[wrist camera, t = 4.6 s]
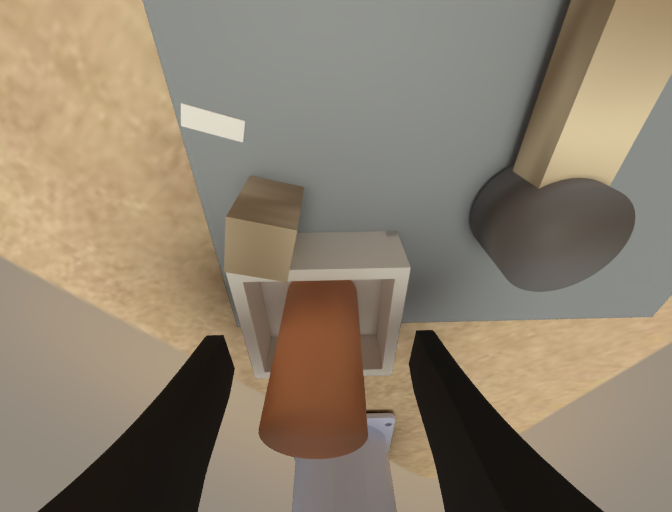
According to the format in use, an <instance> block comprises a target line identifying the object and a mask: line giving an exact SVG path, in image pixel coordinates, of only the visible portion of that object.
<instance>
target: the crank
mask: <svg viewBox="0 0 672 512" xmlns="http://www.w3.org/2000/svg"><path fill="white" fill-rule="evenodd" d="M671 74H672V0H571V2H570V5H569V8H568V11H567V13H566V16H565V19H564V22H563V25H562V28H561V31H560V34H559V37H558V40H557V43H556V46H555V48H554V51H553V54H552V57H551V60H550V63H549V66H548V69H547V72H546V75H545V78H544V81H543V83H542V86H541V89H540V92H539V95H538V98H537V101H536V104H535V107H534V110H533V113H532V116H531V118H530V121H529V124H528V127H527V130H526V133H525V136H524V139H523V142H522V145H521V148H520V151H519V154H518V156H517V159H516V162H515V165H513V166H511V167H509V168H508V169H506V170H504V171H503V172H501V173H500V174H498V175H497V176H496V177H495V178H493V179H492V180H491V181H490V182H489V183H488V184H487V185H486V186H485V187H484V189H483V190H482V191H481V192H480V194H479V196H478V197H477V199H476V201H475V203H474V205H473V208H472V211H471V216H470V226H471V230H472V233H473V235H474V237H475V239H476V240H477V241H478V243H479V244H480V245H481V246H482V248H483V249H484V250H485V252H486V253H487V254H488V256H489V257H490V258H491V259H492V261H493V262H494V263H495V265H496V266H497V267H498V269H499V270H500V271H501V272H502V274H503V275H504V276H505V278H506V279H507V280H508V281H509V282H510V283H511V284H512V285H514V286H515V287H518V288H520V289H523V290H526V291H533V292H546V291H554V290H558V289H562V288H566V287H569V286H572V285H574V284H577V283H579V282H581V281H583V280H585V279H587V278H589V277H591V276H592V275H594V274H596V273H597V272H598V271H600V270H601V269H603V268H604V267H605V266H606V265H608V264H609V263H610V262H611V261H612V260H613V259H614V258H615V257H616V256H617V255H618V254H619V253H620V252H621V250H622V249H623V248H624V246H625V245H626V244H627V242H628V240H629V238H630V236H631V234H632V232H633V229H634V225H635V218H636V216H635V209H634V206H633V204H632V202H631V201H630V199H629V198H628V197H627V196H626V195H624V194H623V193H621V192H620V191H618V190H616V189H614V188H612V187H610V185H611V183H612V181H613V179H614V177H615V176H616V174H617V172H618V170H619V168H620V167H621V165H622V163H623V161H624V159H625V157H626V156H627V154H628V152H629V150H630V148H631V147H632V145H633V143H634V141H635V139H636V138H637V136H638V134H639V132H640V130H641V128H642V127H643V125H644V123H645V121H646V119H647V118H648V116H649V114H650V112H651V110H652V109H653V107H654V105H655V103H656V101H657V99H658V98H659V96H660V94H661V92H662V90H663V89H664V87H665V85H666V83H667V81H668V80H669V78H670V76H671Z"/></svg>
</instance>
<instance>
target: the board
mask: <svg viewBox="0 0 672 512" xmlns="http://www.w3.org/2000/svg"><path fill="white" fill-rule="evenodd" d="M570 2H571V0H143V4H144V7H145V11H146V14H147V17H148V21H149V24H150V28H151V31H152V35H153V38H154V42H155V45H156V48H157V52H158V55H159V59H160V62H161V66H162V69H163V73H164V76H165V79H166V83H167V86H168V90H169V93H170V97H171V100H172V104H173V107H174V110H175V114H176V117H177V121H178V124H179V128H180V131H181V135H182V138H183V141H184V145H185V148H186V152H187V155H188V159H189V162H190V166H191V169H192V172H193V176H194V179H195V183H196V186H197V190H198V193H199V197H200V200H201V203H202V207H203V210H204V214H205V217H206V221H207V224H208V228H209V231H210V234H211V238H212V241H213V245H214V248H215V252H216V255H217V259H218V262H219V265H220V269H221V272H222V276H223V279H224V283H225V286H226V290H227V293H228V296H229V300H230V303H231V307H232V310H233V314H234V317H235V321H236V324H237V327H241V325H240V322H239V318H238V314H237V311H236V307H235V304H234V300H233V297H232V293H231V289H230V286H229V282H228V279H227V275H226V272H224V255H225V226H226V216H227V214H228V212H229V210H230V209H231V207H232V205H233V204H234V202H235V200H236V198H237V197H238V195H239V193H240V192H241V190H242V188H243V187H244V185H245V183H246V181H247V180H248V178H249V176H255V177H260V178H264V179H269V180H273V181H278V182H283V183H287V184H292V185H296V186H301V187H304V191H303V198H302V204H301V210H300V217H299V223H298V229H297V233H311V232H366V231H397V233H398V235H399V238H400V241H401V243H402V246H403V248H404V251H405V254H406V256H407V259H408V262H409V264H410V267H411V269H410V274H409V280H408V286H407V292H406V297H405V303H404V309H403V314H402V320H401V323H416V322H458V321H500V320H543V319H585V318H627V317H653V316H654V314H655V313H656V312H657V311H658V310H659V309H660V308H661V306H662V305H663V304H664V303H665V302H666V301H667V300H668V298H669V297H670V296H671V295H672V74H671V76H670V78H669V80H668V81H667V83H666V85H665V87H664V89H663V90H662V92H661V94H660V96H659V98H658V99H657V101H656V103H655V105H654V107H653V109H652V110H651V112H650V114H649V116H648V118H647V119H646V121H645V123H644V125H643V127H642V128H641V130H640V132H639V134H638V136H637V138H636V139H635V141H634V143H633V145H632V147H631V148H630V150H629V152H628V154H627V156H626V157H625V159H624V161H623V163H622V165H621V167H620V168H619V170H618V172H617V174H616V176H615V177H614V179H613V181H612V183H611V185H610V187H612V188H614V189H616V190H618V191H620V192H621V193H623V194H624V195H626V196H627V197H628V198H629V199H630V201H631V202H632V204H633V206H634V209H635V216H636V218H635V225H634V229H633V232H632V234H631V236H630V238H629V240H628V242H627V244H626V245H625V246H624V248H623V249H622V250H621V252H620V253H619V254H618V255H617V256H616V257H615V258H614V259H613V260H612V261H611V262H610V263H609V264H608V265H606V266H605V267H604V268H603V269H601V270H600V271H598V272H597V273H596V274H594V275H592V276H591V277H589V278H587V279H585V280H583V281H581V282H579V283H577V284H574V285H572V286H569V287H566V288H562V289H558V290H554V291H546V292H533V291H526V290H523V289H520V288H518V287H515V286H514V285H512V284H511V283H510V282H509V281H508V280H507V279H506V278H505V276H504V275H503V274H502V272H501V271H500V270H499V269H498V267H497V266H496V265H495V263H494V262H493V261H492V259H491V258H490V257H489V256H488V254H487V253H486V252H485V250H484V249H483V248H482V246H481V245H480V244H479V243H478V241H477V240H476V239H475V237H474V235H473V233H472V230H471V226H470V216H471V211H472V208H473V205H474V203H475V201H476V199H477V197H478V196H479V194H480V192H481V191H482V190H483V189H484V187H485V186H486V185H487V184H488V183H489V182H490V181H491V180H492V179H493V178H495V177H496V176H497V175H498V174H500V173H501V172H503V171H504V170H506V169H508V168H509V167H511V166H513V165H515V162H516V159H517V156H518V154H519V151H520V148H521V145H522V142H523V139H524V136H525V133H526V130H527V127H528V124H529V121H530V118H531V116H532V113H533V110H534V107H535V104H536V101H537V98H538V95H539V92H540V89H541V86H542V83H543V81H544V78H545V75H546V72H547V69H548V66H549V63H550V60H551V57H552V54H553V51H554V48H555V46H556V43H557V40H558V37H559V34H560V31H561V28H562V25H563V22H564V19H565V16H566V13H567V11H568V8H569V5H570Z"/></svg>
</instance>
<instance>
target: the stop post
mask: <svg viewBox="0 0 672 512" xmlns="http://www.w3.org/2000/svg"><path fill="white" fill-rule="evenodd" d="M303 191H304V187H301V186H296V185H292V184H287V183H283V182H278V181H273V180H269V179H264V178H260V177H255V176H249V178H248V180H247V181H246V183H245V185H244V187H243V188H242V190H241V192H240V193H239V195H238V197H237V198H236V200H235V202H234V204H233V205H232V207H231V209H230V210H229V212H228V214H227V216H226V226H225V255H224V272H227V273H233V274H240V275H246V276H252V277H258V278H264V279H270V280H276V281H282V282H287V281H288V276H289V271H290V266H291V260H292V255H293V250H294V245H295V240H296V235H297V229H298V223H299V217H300V210H301V204H302V198H303Z"/></svg>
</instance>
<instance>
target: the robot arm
mask: <svg viewBox="0 0 672 512" xmlns="http://www.w3.org/2000/svg"><path fill="white" fill-rule="evenodd" d="M409 367H410V373H411V379H412V384H413V389H414V393H415V397H416V400H417V404H418V407H419V411H420V414H421V417H422V421H423V424H424V427H425V431H426V434H427V437H428V441H429V444H430V447H431V451H432V454H433V458H434V462H435V466H436V470H437V474H438V479H439V483H440V489H441V494H442V498H443V503H444V509H445V512H603V511H602V510H601V509H600V508H599V507H597V506H596V505H595V504H594V503H593V502H591V501H590V500H589V499H588V498H587V497H586V496H584V495H583V494H582V493H581V492H580V491H579V490H577V489H576V488H575V487H574V486H573V485H572V484H571V483H570V482H568V481H567V480H566V479H565V478H564V477H563V476H562V475H561V474H559V473H558V472H557V471H556V470H555V469H554V468H553V467H552V466H551V465H550V464H549V463H547V462H546V461H545V460H544V459H543V458H542V457H541V456H540V455H539V454H538V453H537V452H536V451H535V450H534V449H533V448H532V447H531V446H530V445H529V444H528V443H527V442H526V441H524V440H523V439H522V437H520V435H519V434H518V433H517V432H516V431H515V430H514V429H513V428H512V427H511V426H510V425H509V424H508V423H507V422H506V421H505V420H504V419H503V418H502V417H501V415H500V414H499V413H498V412H497V411H496V410H495V409H494V408H493V407H492V405H491V404H490V403H489V402H488V401H487V400H486V399H485V397H484V396H483V395H482V394H481V393H480V391H479V390H478V389H477V388H476V387H475V385H474V384H473V383H472V382H471V380H470V379H469V378H468V377H467V375H466V374H465V373H464V372H463V370H462V369H461V368H460V367H459V365H458V364H457V363H456V361H455V360H454V359H453V357H452V356H451V355H450V353H449V352H448V350H447V349H446V348H445V346H444V345H443V343H442V342H441V341H440V339H439V338H438V336H437V335H436V333H435V332H434V331H433V330H420V331H416V334H415V339H414V343H413V348H412V352H411V357H410V361H409ZM234 369H235V368H234V365H233V362H232V359H231V356H230V353H229V350H228V347H227V344H226V341H225V338H224V335H212V336H206V337H205V338H204V339H203V341H202V342H201V343H200V344H199V346H198V347H197V348H196V350H195V351H194V352H193V354H192V355H191V356H190V357H189V359H188V360H187V361H186V363H185V364H184V365H183V366H182V367H181V369H180V370H179V372H178V373H177V374H176V375H175V376H174V377H173V379H172V380H171V381H170V382H169V383H168V385H167V386H166V387H165V388H164V389H163V391H162V392H161V393H160V394H159V395H158V396H157V398H156V399H155V400H154V401H153V402H152V403H151V404H150V405H149V406H148V408H147V409H146V410H145V411H144V412H143V413H142V414H141V415H140V417H139V418H138V419H137V420H136V421H135V422H134V423H133V424H132V425H131V426H130V427H129V428H128V429H127V430H126V431H125V433H123V434H122V435H121V436H120V438H118V439H117V440H116V441H115V442H114V443H113V444H112V446H110V447H109V449H107V450H106V451H105V453H103V454H102V455H101V456H100V457H99V458H98V459H97V460H96V461H95V462H94V463H93V464H91V465H90V466H89V467H88V468H87V469H86V470H85V471H84V472H83V473H82V474H81V475H80V476H79V477H77V478H76V479H75V480H74V481H73V482H72V483H71V484H70V485H68V486H67V487H66V488H65V489H64V490H63V491H61V492H60V493H59V494H58V495H57V496H56V497H54V498H53V499H52V500H51V501H50V502H48V503H47V504H46V505H45V506H44V507H43V508H42V509H40V510H39V511H38V512H198V507H199V502H200V498H201V493H202V489H203V484H204V480H205V475H206V472H207V467H208V464H209V461H210V458H211V454H212V451H213V448H214V445H215V441H216V438H217V435H218V432H219V428H220V425H221V422H222V419H223V416H224V412H225V409H226V406H227V403H228V399H229V395H230V391H231V386H232V380H233V375H234ZM394 425H395V415H394V414H392V413H370V414H367V427H368V439H367V441H366V442H365V444H364V445H363V446H362V447H361V448H359V449H358V450H356V451H354V452H352V453H350V454H347V455H344V456H340V457H336V458H329V459H304V458H297V457H294V458H295V463H296V464H295V477H294V490H293V503H292V512H397V510H396V503H395V497H394V490H393V484H392V477H391V470H390V463H389V457H388V452H389V448H390V443H391V439H392V434H393V430H394Z"/></svg>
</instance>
